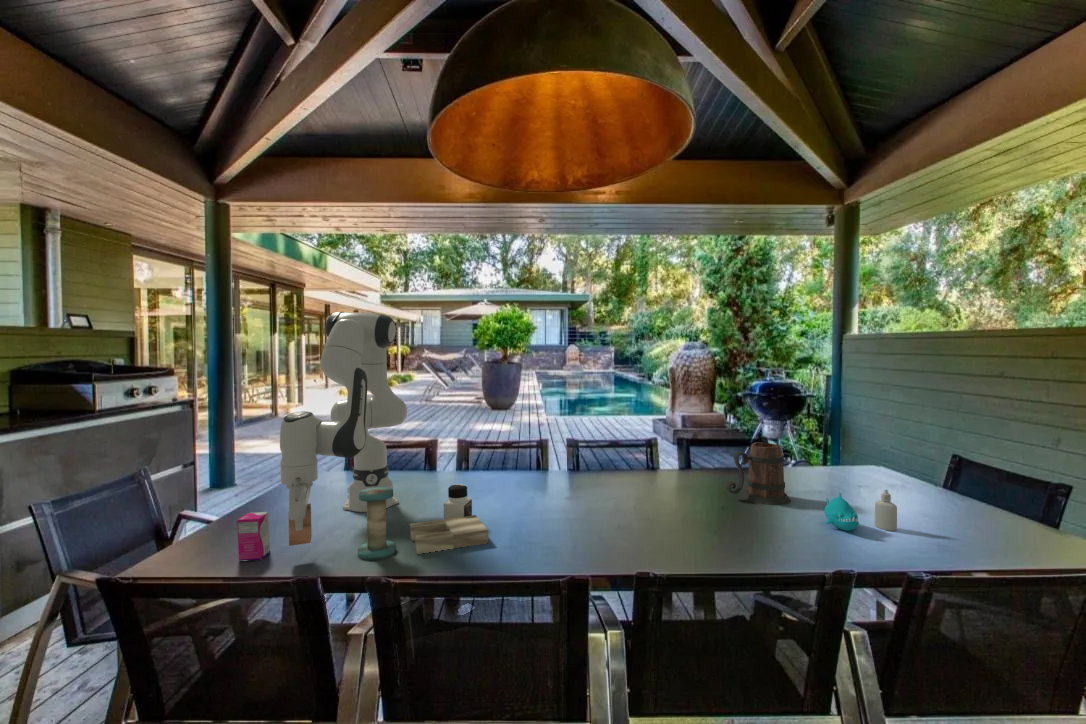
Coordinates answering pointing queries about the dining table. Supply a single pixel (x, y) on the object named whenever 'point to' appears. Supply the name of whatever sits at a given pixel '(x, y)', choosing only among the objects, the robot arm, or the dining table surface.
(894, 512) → the eye dropper bottle
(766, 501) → the tankard
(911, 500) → the dining table surface
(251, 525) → the supplement box
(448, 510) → the medicine bottle
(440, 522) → the notched board
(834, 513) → the toy shark
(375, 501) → the bobbin
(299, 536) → the wooden block
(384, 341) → the robot arm
